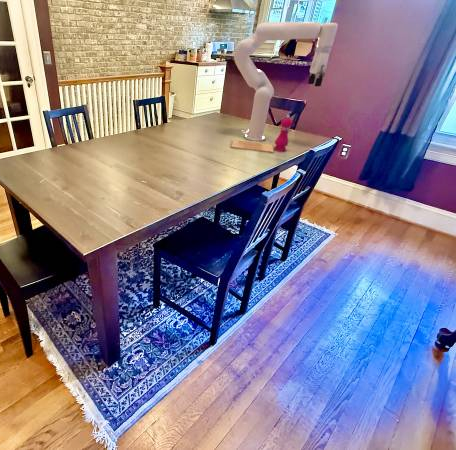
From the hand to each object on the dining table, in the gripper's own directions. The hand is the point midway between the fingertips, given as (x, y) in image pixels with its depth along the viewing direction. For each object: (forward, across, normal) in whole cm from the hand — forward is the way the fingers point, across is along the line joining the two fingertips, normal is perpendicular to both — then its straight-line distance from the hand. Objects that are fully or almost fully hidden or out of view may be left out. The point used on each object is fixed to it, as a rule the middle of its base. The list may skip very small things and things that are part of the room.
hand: (313, 85), depth 172 cm
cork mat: (+34, +7, -30) cm, 46 cm away
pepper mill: (+35, +11, -14) cm, 39 cm away
